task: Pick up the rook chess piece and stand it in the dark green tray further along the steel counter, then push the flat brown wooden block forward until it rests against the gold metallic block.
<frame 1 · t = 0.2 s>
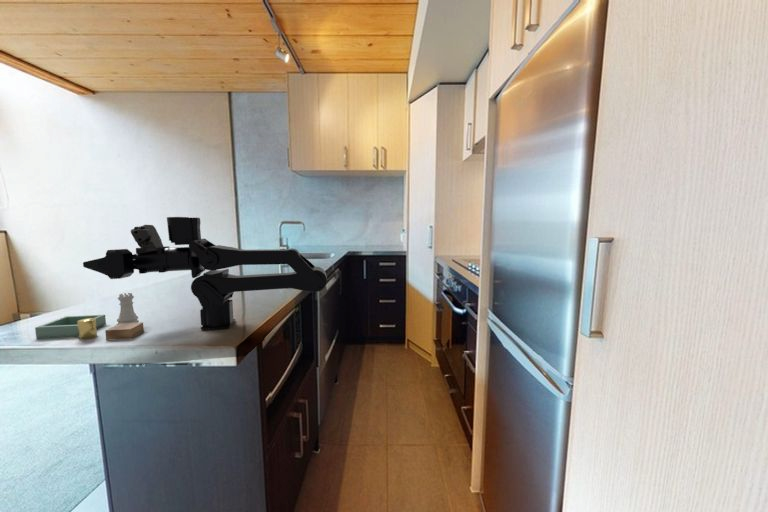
hand: (98, 262, 73), 17 cm above the counter, tool horizontal, fingers open, 9 cm apart
rook chess piece: (128, 325, 80), on the counter
tray: (73, 330, 76), on the counter
flat brown wooden block: (125, 336, 73), on the counter
gold metallic block: (88, 337, 71), on the counter
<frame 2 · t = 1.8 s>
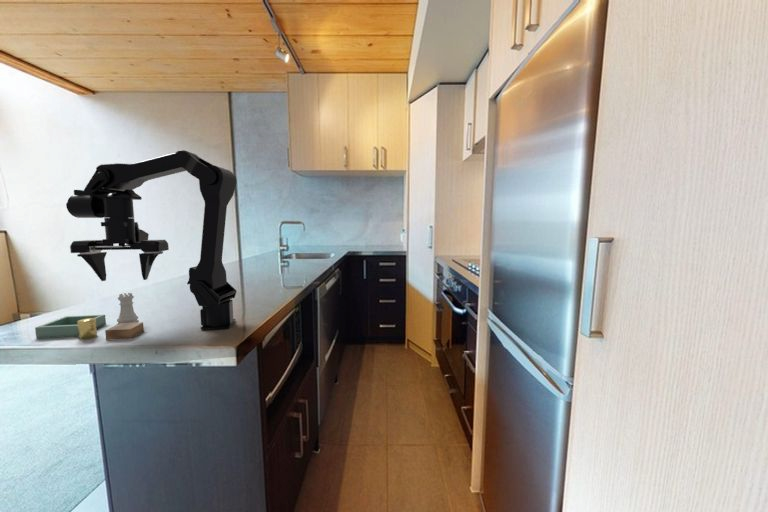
hand: (124, 280, 79), 12 cm above the counter, tool pointing down, fingers open, 9 cm apart
nothing on the counter moved.
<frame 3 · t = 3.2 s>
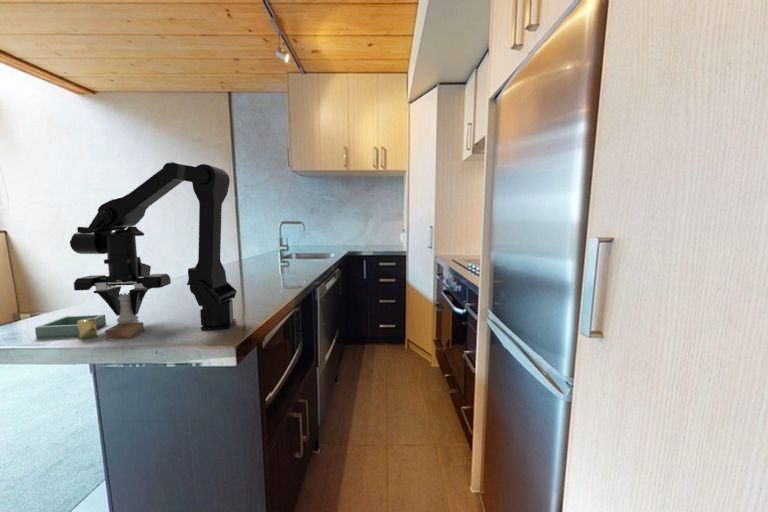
hand: (127, 314, 80), 3 cm above the counter, tool pointing down, fingers closed on rook chess piece, 3 cm apart
rook chess piece: (128, 325, 80), on the counter, touching gripper
everything else where it was.
when the fingers open (4 cm above the counter, at t = 6.7 s): rook chess piece stays where it is, resting on tray.
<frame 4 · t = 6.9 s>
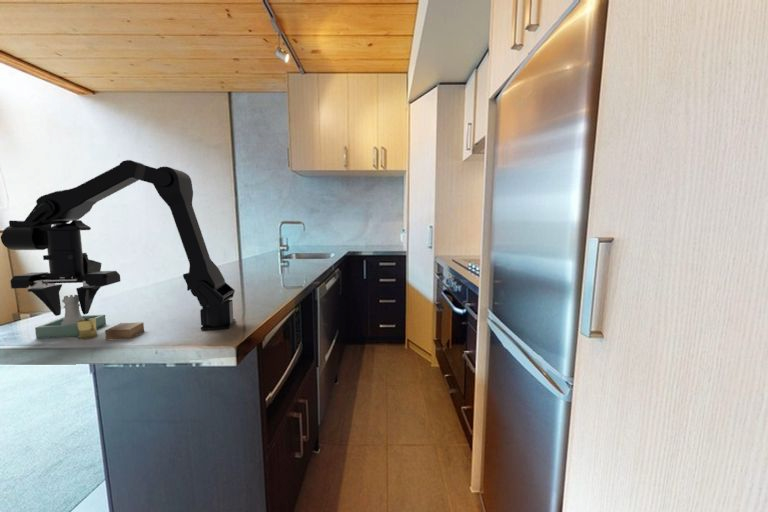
hand: (72, 314, 75), 4 cm above the counter, tool pointing down, fingers open, 5 cm apart
rook chess piece: (73, 329, 76), resting on tray
everything else where it was.
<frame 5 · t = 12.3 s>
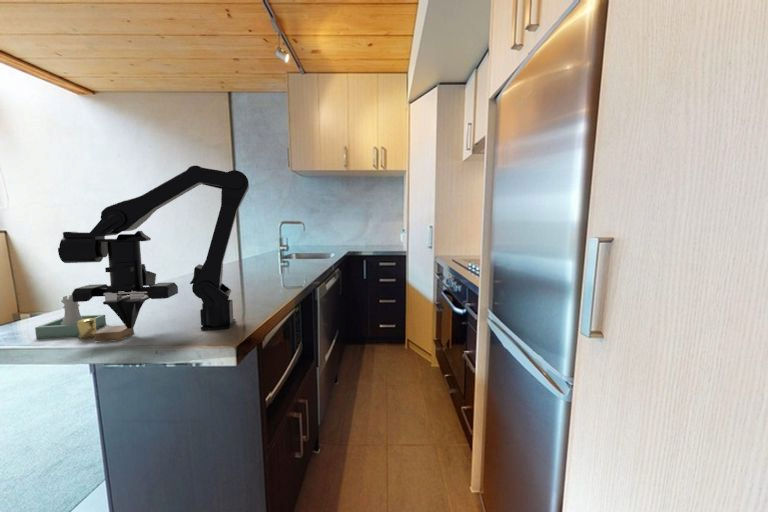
hand: (130, 327, 73), 2 cm above the counter, tool pointing down, fingers closed
flat brown wooden block: (115, 339, 72), on the counter
everything else where it was.
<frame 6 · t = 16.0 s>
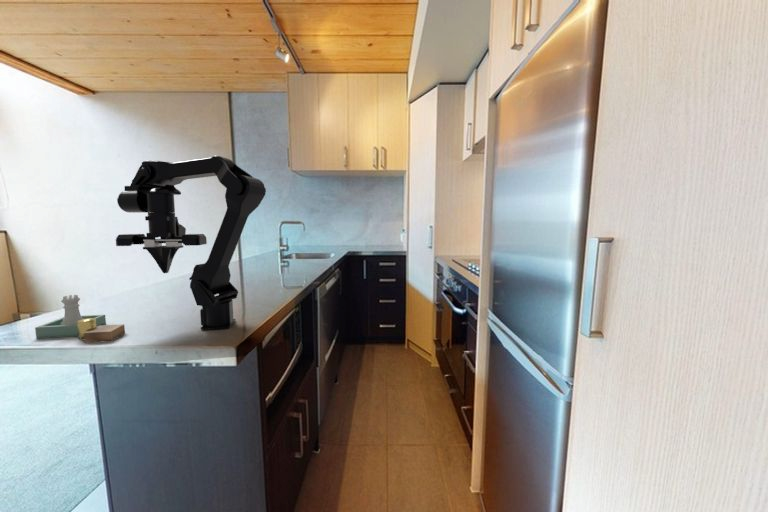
hand: (165, 272, 82), 13 cm above the counter, tool pointing down, fingers closed
flat brown wooden block: (105, 339, 71), on the counter
everything else where it was.
at the end: rook chess piece 0.1 cm off-centre on the tray, point 0.3 cm above the tray's base; rook chess piece tilted 0°; flat brown wooden block 1.1 cm from the target spot, on the counter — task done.
